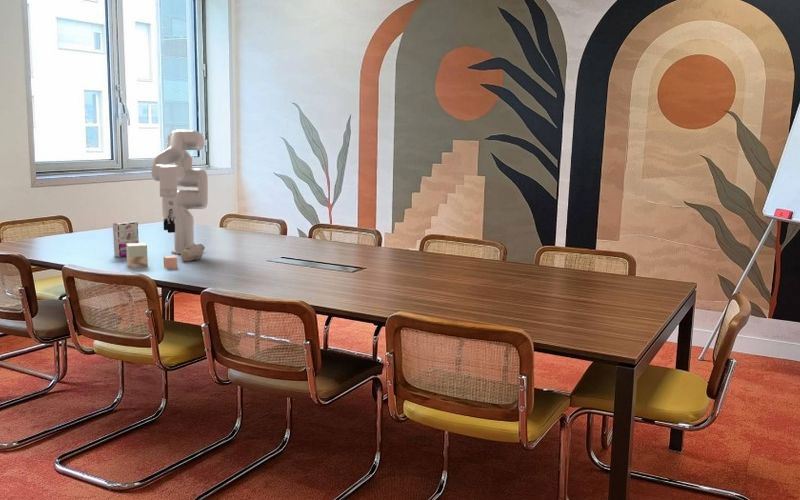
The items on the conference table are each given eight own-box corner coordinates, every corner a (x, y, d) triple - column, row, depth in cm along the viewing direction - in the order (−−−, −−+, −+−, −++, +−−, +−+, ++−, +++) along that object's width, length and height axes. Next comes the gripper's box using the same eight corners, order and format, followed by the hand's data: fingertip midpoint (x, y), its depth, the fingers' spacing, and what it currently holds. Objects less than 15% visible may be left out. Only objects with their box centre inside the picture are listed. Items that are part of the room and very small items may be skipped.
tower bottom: (144, 263, 366) (144, 253, 365) (147, 266, 359) (147, 256, 358) (127, 264, 362) (126, 254, 362) (129, 267, 355) (129, 257, 354)
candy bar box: (133, 253, 391) (132, 221, 388) (139, 254, 388) (138, 221, 385) (113, 256, 382) (112, 223, 379) (119, 257, 379) (118, 224, 376)
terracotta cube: (175, 266, 361) (174, 255, 360) (177, 268, 357) (176, 257, 356) (163, 267, 359) (163, 256, 358) (165, 268, 354) (165, 258, 354)
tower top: (144, 253, 365) (144, 242, 364) (147, 256, 358) (147, 245, 357) (126, 254, 362) (126, 243, 361) (129, 257, 354) (128, 246, 354)
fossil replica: (175, 261, 373) (194, 265, 370) (175, 245, 371) (194, 248, 368) (189, 255, 384) (207, 259, 381) (189, 239, 382) (208, 242, 379)
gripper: (180, 194, 346) (181, 233, 348) (173, 192, 361) (174, 228, 364) (163, 195, 343) (164, 233, 345) (156, 192, 358) (157, 229, 360)
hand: (169, 231), depth 354 cm, fingers open, 9 cm apart
